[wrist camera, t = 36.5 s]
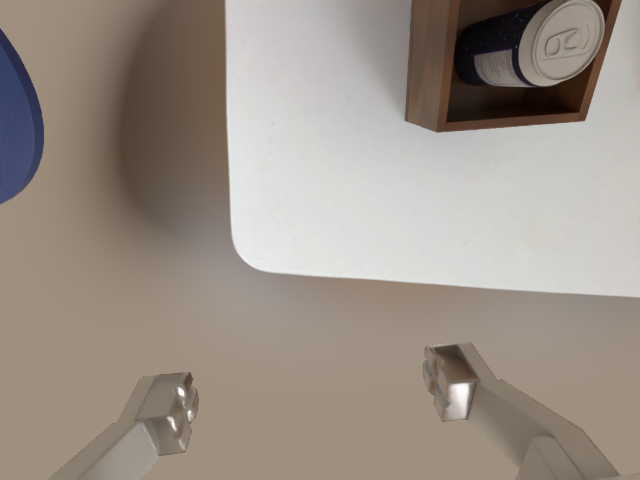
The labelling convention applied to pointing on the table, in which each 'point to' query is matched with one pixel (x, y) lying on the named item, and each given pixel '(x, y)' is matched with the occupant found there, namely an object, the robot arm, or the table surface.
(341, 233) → the table surface
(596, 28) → the beverage can
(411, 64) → the chest
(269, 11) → the table surface
